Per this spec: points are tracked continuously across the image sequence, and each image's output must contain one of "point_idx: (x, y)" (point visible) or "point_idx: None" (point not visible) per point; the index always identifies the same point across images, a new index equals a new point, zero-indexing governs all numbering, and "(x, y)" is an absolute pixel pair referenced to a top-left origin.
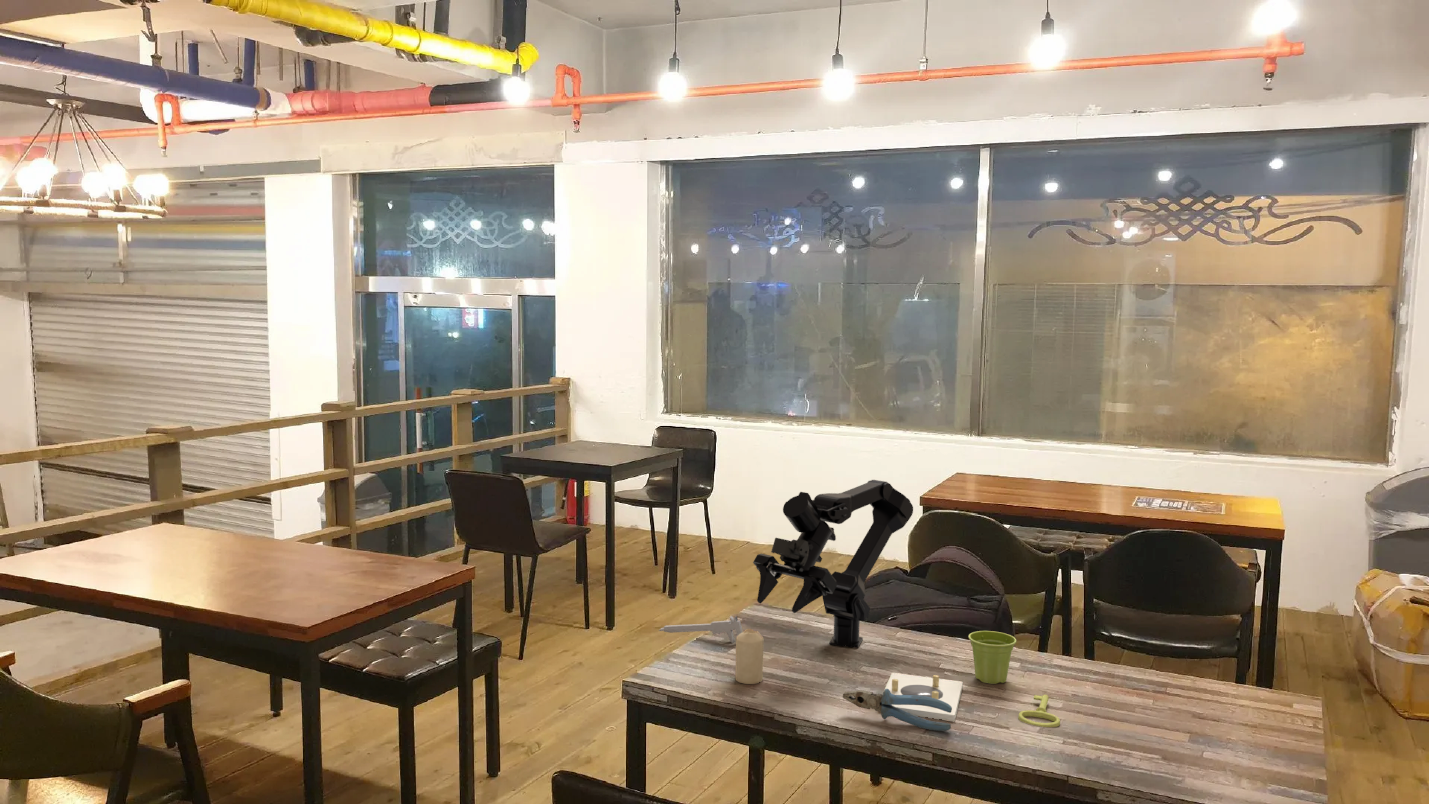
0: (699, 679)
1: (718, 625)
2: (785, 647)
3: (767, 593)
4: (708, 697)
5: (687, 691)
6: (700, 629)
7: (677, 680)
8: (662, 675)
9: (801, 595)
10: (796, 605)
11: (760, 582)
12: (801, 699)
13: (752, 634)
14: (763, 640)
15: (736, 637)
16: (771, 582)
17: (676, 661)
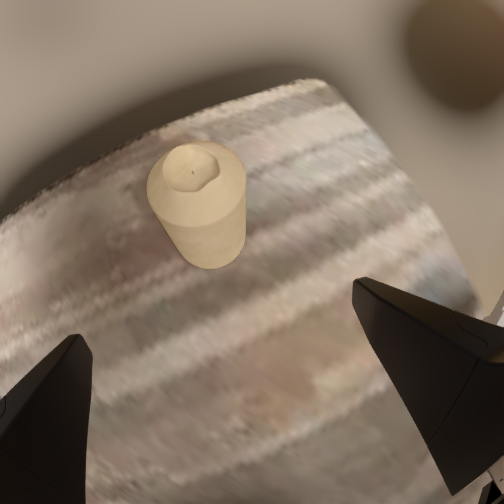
0: (274, 151)
1: (492, 323)
2: (358, 460)
3: (396, 373)
4: (183, 122)
5: (230, 109)
6: (502, 297)
7: (290, 120)
8: (327, 115)
9: (9, 398)
10: (48, 354)
11: (471, 319)
12: (60, 262)
13: (164, 160)
14: (159, 217)
15: (226, 147)
16: (454, 432)
17: (389, 173)
